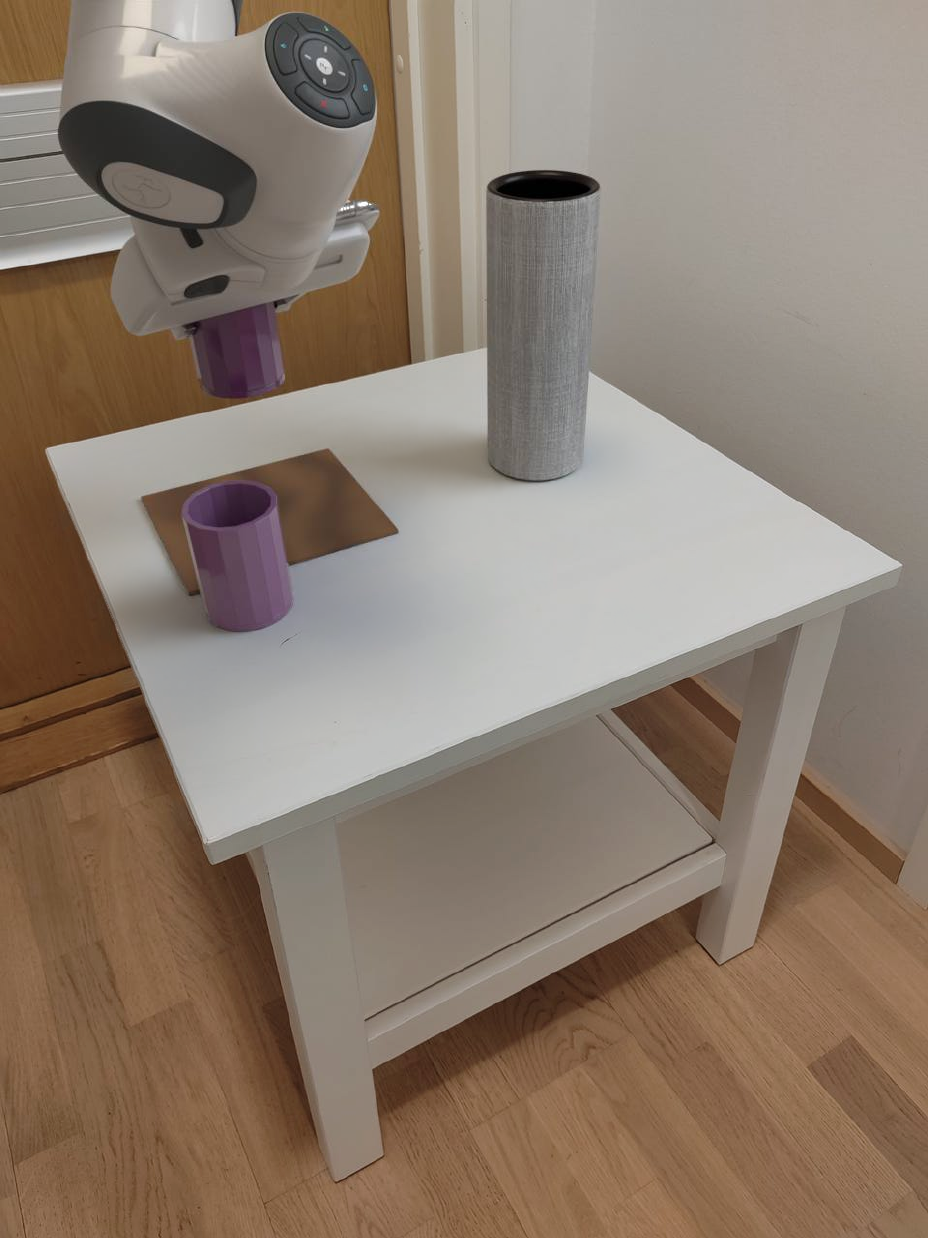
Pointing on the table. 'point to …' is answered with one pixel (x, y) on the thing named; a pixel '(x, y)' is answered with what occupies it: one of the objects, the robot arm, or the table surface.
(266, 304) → the plum cup
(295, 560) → the placemat
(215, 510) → the mauve cup
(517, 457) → the vase
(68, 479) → the table surface
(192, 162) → the robot arm
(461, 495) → the table surface
